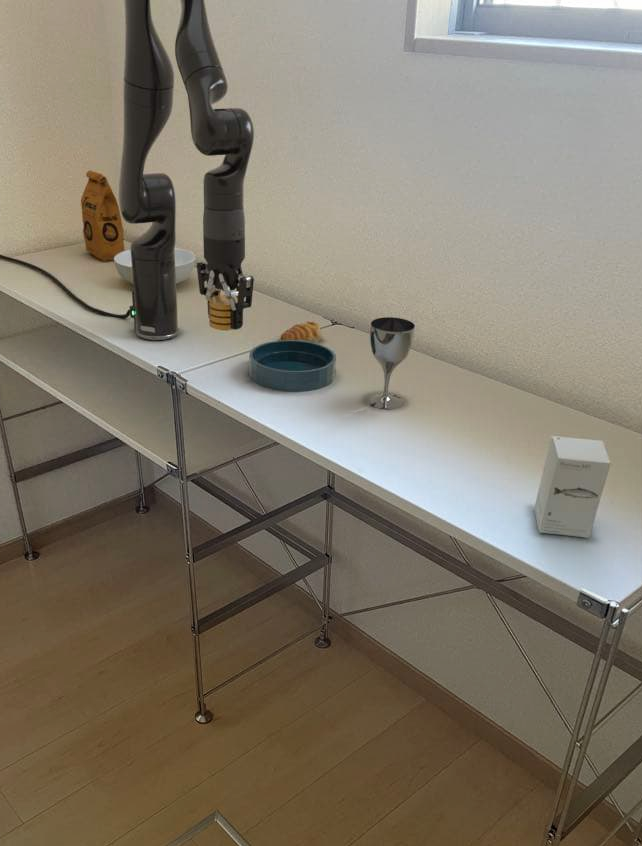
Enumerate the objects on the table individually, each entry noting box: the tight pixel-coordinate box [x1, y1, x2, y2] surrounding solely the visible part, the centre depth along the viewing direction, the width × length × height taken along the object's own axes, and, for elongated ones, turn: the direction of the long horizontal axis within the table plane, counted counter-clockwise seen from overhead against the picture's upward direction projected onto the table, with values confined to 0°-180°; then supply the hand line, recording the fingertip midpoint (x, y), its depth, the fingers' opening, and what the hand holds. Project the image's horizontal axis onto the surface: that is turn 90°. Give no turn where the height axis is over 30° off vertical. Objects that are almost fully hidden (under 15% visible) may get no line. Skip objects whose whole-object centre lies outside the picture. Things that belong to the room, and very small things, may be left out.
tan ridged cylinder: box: [208, 294, 238, 331], centre depth 157 cm, size 6×6×5 cm
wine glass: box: [369, 316, 416, 410], centre depth 154 cm, size 8×8×15 cm
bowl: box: [248, 339, 337, 393], centre depth 165 cm, size 17×17×4 cm
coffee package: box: [80, 170, 125, 262], centre depth 231 cm, size 10×12×22 cm
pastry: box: [280, 321, 324, 343], centre depth 182 cm, size 9×7×4 cm
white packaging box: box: [533, 435, 612, 539], centre depth 119 cm, size 7×7×13 cm
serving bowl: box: [113, 247, 196, 285], centre depth 215 cm, size 21×21×7 cm
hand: (225, 323), depth 158 cm, fingers closed on tan ridged cylinder, 6 cm apart
